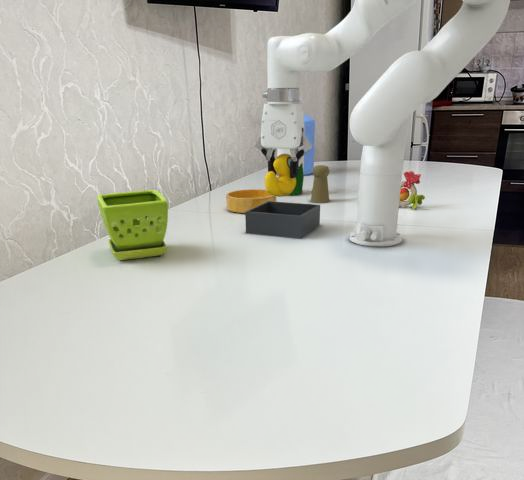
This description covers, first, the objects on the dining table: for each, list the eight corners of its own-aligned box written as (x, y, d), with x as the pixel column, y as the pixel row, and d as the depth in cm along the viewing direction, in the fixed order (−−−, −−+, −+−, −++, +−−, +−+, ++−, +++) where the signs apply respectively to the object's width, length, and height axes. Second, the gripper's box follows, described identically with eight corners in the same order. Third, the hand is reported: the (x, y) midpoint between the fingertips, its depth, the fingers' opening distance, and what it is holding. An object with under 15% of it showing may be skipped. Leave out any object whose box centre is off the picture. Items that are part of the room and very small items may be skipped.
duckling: (291, 191, 140) (290, 151, 135) (306, 192, 136) (305, 151, 132) (260, 198, 133) (257, 156, 129) (275, 200, 129) (272, 157, 125)
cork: (307, 202, 169) (308, 166, 164) (315, 198, 174) (315, 163, 169) (325, 203, 166) (326, 167, 161) (332, 200, 171) (333, 164, 166)
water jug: (320, 171, 225) (322, 99, 212) (302, 177, 213) (304, 101, 201) (288, 169, 233) (288, 99, 220) (270, 174, 221) (269, 101, 208)
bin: (300, 238, 130) (301, 216, 127) (245, 233, 135) (245, 211, 133) (319, 225, 141) (320, 204, 139) (268, 221, 147) (267, 201, 144)
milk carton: (304, 191, 185) (306, 130, 176) (300, 196, 178) (301, 132, 169) (280, 190, 187) (280, 130, 178) (275, 195, 180) (274, 132, 170)
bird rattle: (396, 216, 158) (425, 206, 153) (384, 180, 155) (414, 168, 150) (400, 212, 163) (429, 202, 158) (389, 177, 160) (418, 166, 155)
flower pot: (104, 248, 125) (95, 193, 119) (162, 242, 129) (157, 189, 123) (111, 265, 113) (101, 205, 107) (174, 257, 117) (169, 199, 112)
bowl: (263, 215, 153) (263, 200, 150) (218, 212, 158) (217, 196, 156) (283, 205, 165) (283, 190, 163) (240, 202, 171) (240, 188, 169)
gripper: (244, 97, 124) (246, 177, 132) (312, 97, 118) (309, 181, 126) (257, 96, 130) (258, 173, 138) (322, 96, 124) (320, 176, 132)
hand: (283, 176), depth 132 cm, fingers closed on duckling, 5 cm apart
